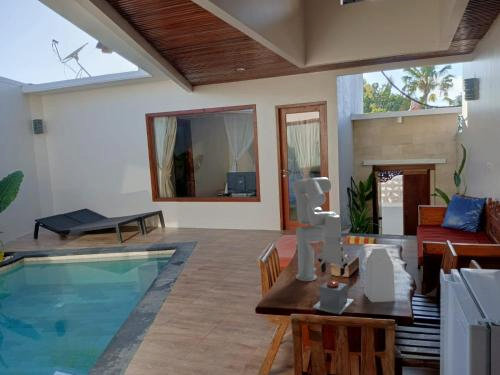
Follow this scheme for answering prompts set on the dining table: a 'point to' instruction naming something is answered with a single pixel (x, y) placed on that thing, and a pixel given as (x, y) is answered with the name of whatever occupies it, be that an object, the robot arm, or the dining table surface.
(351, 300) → the receiver
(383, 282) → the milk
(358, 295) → the dining table surface
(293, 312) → the dining table surface
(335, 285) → the pin
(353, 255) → the dining table surface
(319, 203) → the robot arm
